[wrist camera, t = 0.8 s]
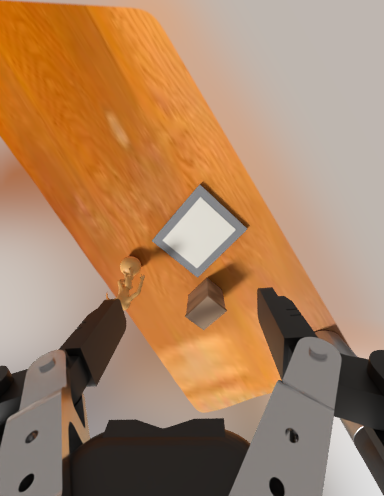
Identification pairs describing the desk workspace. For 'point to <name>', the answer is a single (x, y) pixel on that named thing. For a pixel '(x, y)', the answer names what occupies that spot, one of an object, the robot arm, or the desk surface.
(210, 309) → the walnut box
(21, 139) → the desk surface
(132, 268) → the figurine
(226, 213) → the mat
